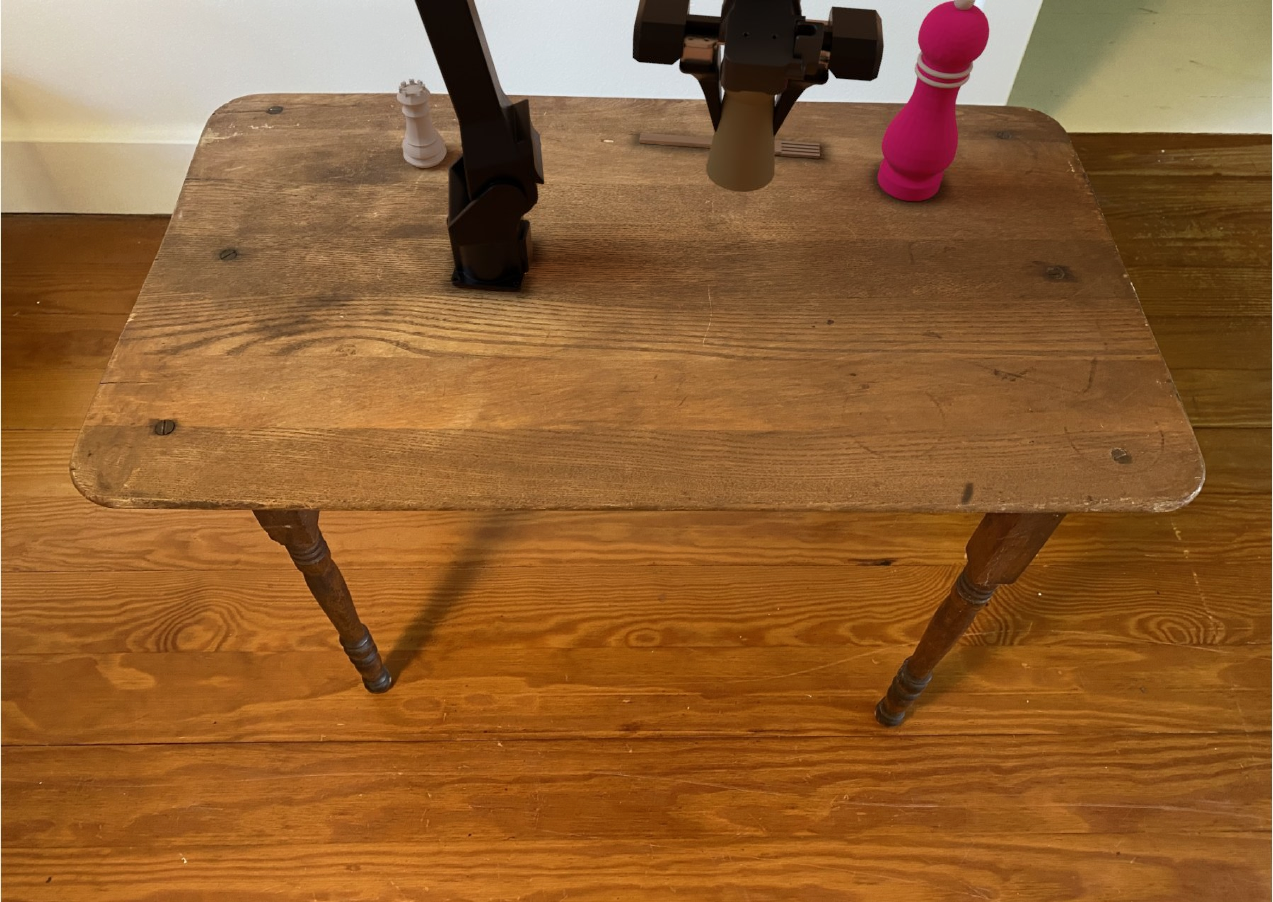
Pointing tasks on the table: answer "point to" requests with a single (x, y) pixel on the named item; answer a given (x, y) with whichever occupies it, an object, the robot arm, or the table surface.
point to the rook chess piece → (419, 127)
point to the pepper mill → (932, 102)
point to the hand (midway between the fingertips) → (744, 132)
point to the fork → (705, 142)
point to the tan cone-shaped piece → (743, 142)
